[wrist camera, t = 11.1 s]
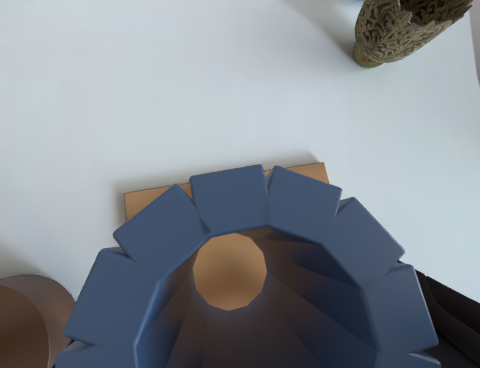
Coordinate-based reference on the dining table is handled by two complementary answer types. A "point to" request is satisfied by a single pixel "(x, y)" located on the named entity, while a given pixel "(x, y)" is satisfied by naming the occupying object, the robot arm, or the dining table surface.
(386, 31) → the cup
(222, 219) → the sleeve
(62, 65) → the dining table surface
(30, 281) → the stand
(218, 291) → the wooden board
